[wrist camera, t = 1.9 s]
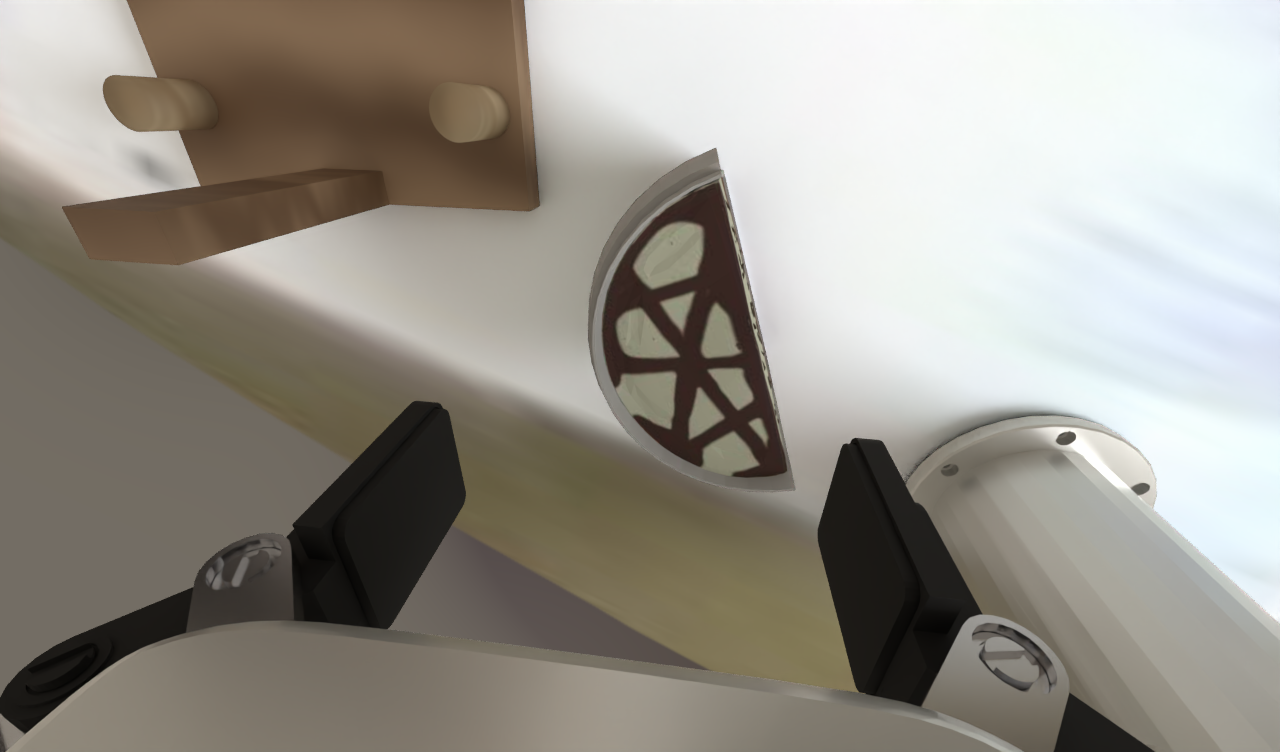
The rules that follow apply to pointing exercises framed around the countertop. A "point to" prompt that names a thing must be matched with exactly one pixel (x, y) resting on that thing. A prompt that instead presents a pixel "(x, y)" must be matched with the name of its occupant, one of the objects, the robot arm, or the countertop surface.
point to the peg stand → (318, 118)
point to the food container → (687, 336)
